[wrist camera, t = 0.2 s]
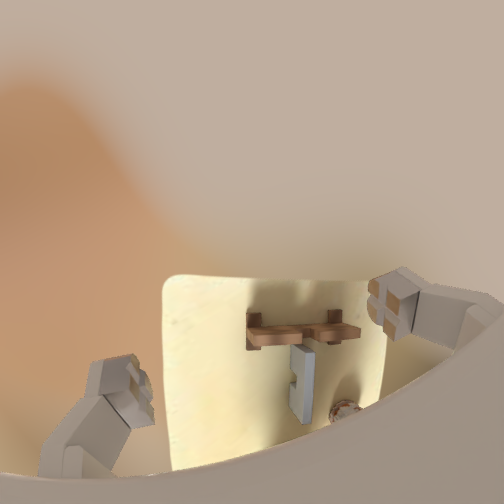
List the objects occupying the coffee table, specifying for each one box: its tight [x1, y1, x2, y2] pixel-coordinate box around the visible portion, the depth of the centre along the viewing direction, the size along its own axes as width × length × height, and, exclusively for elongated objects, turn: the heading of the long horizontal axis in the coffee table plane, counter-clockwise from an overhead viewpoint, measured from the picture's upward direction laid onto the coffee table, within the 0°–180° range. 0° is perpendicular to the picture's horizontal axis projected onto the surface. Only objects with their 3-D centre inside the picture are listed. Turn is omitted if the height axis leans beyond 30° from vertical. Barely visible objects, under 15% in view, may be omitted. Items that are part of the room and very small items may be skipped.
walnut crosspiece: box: [246, 309, 361, 351], centre depth 59 cm, size 22×8×10 cm, turn 90°
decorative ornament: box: [329, 400, 363, 424], centre depth 57 cm, size 8×8×15 cm
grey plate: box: [289, 344, 315, 425], centre depth 58 cm, size 16×2×10 cm, turn 0°
